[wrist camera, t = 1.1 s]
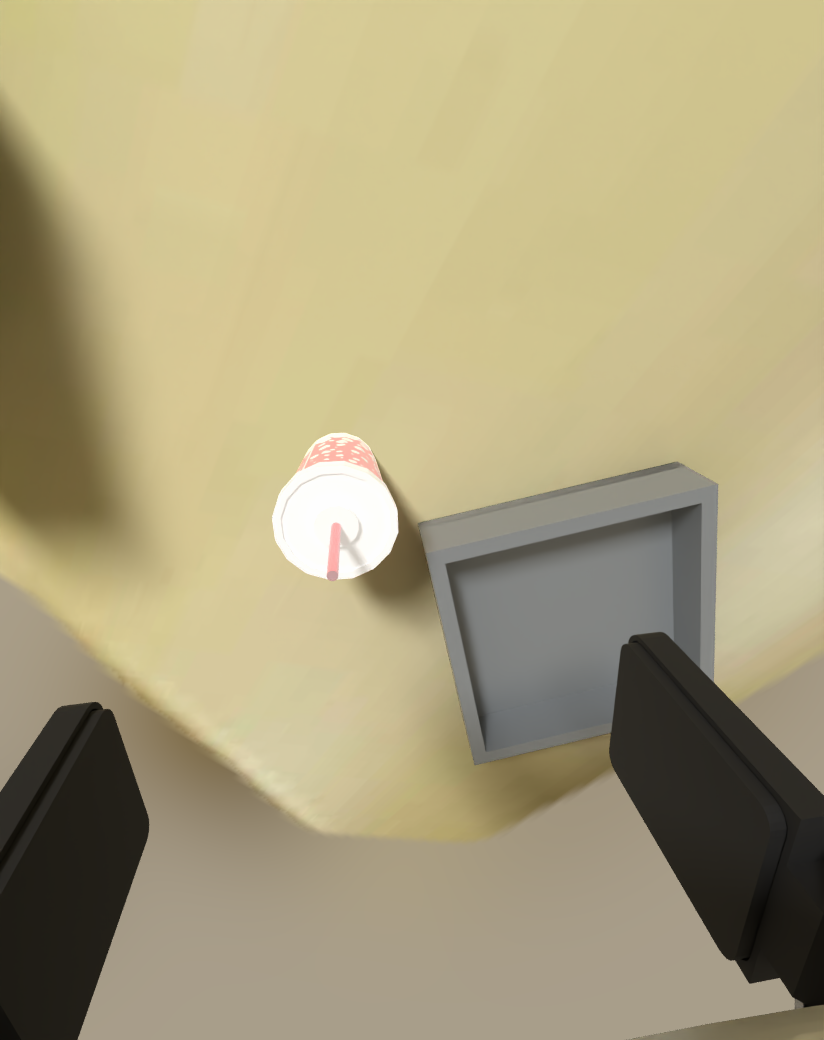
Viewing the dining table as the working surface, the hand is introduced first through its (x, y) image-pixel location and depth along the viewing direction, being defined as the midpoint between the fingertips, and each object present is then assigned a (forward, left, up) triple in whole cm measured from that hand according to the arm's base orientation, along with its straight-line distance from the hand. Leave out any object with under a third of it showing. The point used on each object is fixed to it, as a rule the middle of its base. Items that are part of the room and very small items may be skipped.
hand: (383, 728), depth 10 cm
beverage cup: (+2, +3, -26) cm, 26 cm away
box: (-11, +17, -26) cm, 33 cm away
